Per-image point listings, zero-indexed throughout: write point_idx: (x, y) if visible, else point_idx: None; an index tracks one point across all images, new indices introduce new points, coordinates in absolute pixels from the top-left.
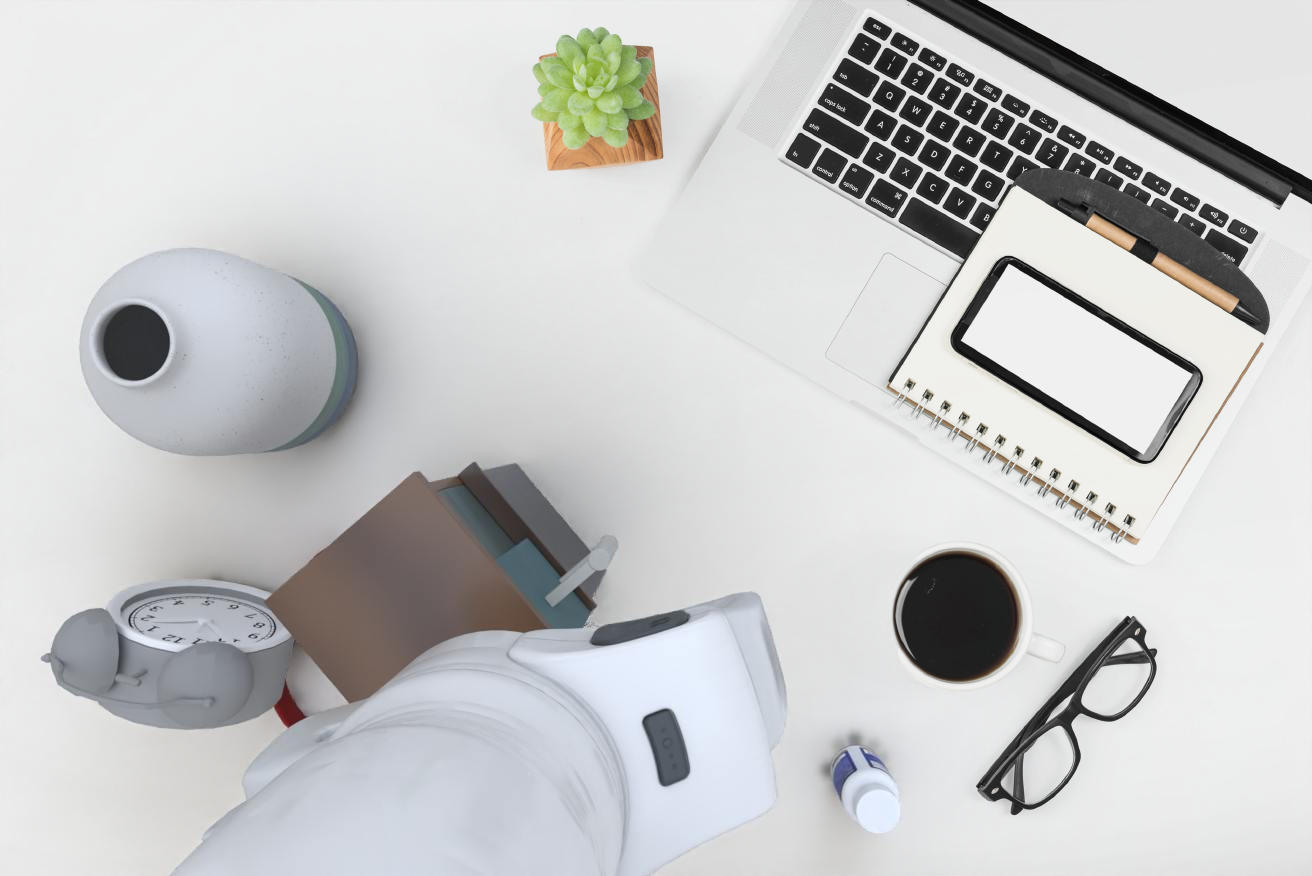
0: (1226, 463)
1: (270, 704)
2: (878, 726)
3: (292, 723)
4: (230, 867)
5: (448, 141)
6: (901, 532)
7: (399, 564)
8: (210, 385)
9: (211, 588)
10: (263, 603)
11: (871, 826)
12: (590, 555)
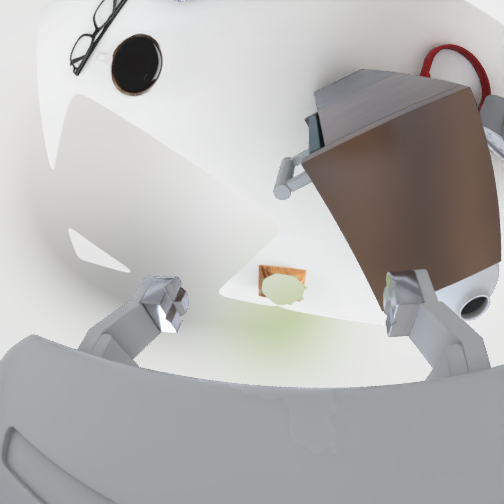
0: (59, 135)
1: (495, 98)
2: (171, 10)
3: (484, 75)
4: None
5: (342, 285)
6: (158, 101)
7: (419, 266)
8: (462, 280)
9: (497, 152)
10: None
11: None
12: (288, 196)
